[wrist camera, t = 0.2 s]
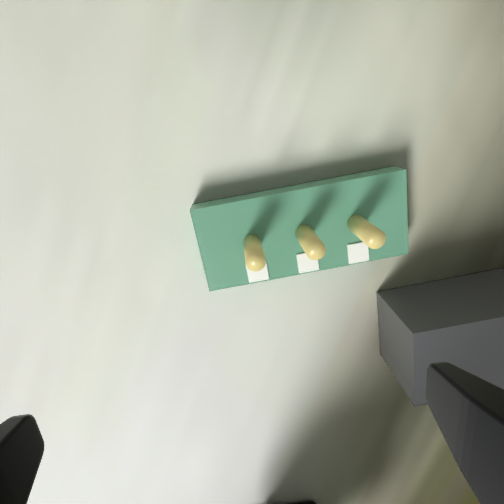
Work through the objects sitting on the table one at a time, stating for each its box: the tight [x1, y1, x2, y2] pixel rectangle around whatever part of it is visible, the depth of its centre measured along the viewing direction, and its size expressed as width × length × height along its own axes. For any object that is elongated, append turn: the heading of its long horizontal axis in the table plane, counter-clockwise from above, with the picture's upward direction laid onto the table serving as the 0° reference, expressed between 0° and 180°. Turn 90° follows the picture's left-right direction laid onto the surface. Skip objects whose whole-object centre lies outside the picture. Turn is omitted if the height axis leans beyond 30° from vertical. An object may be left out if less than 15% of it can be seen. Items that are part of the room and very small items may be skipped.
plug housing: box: [377, 268, 504, 406], centre depth 22 cm, size 5×11×5 cm, turn 100°
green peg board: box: [190, 166, 409, 291], centre depth 20 cm, size 5×12×4 cm, turn 100°
